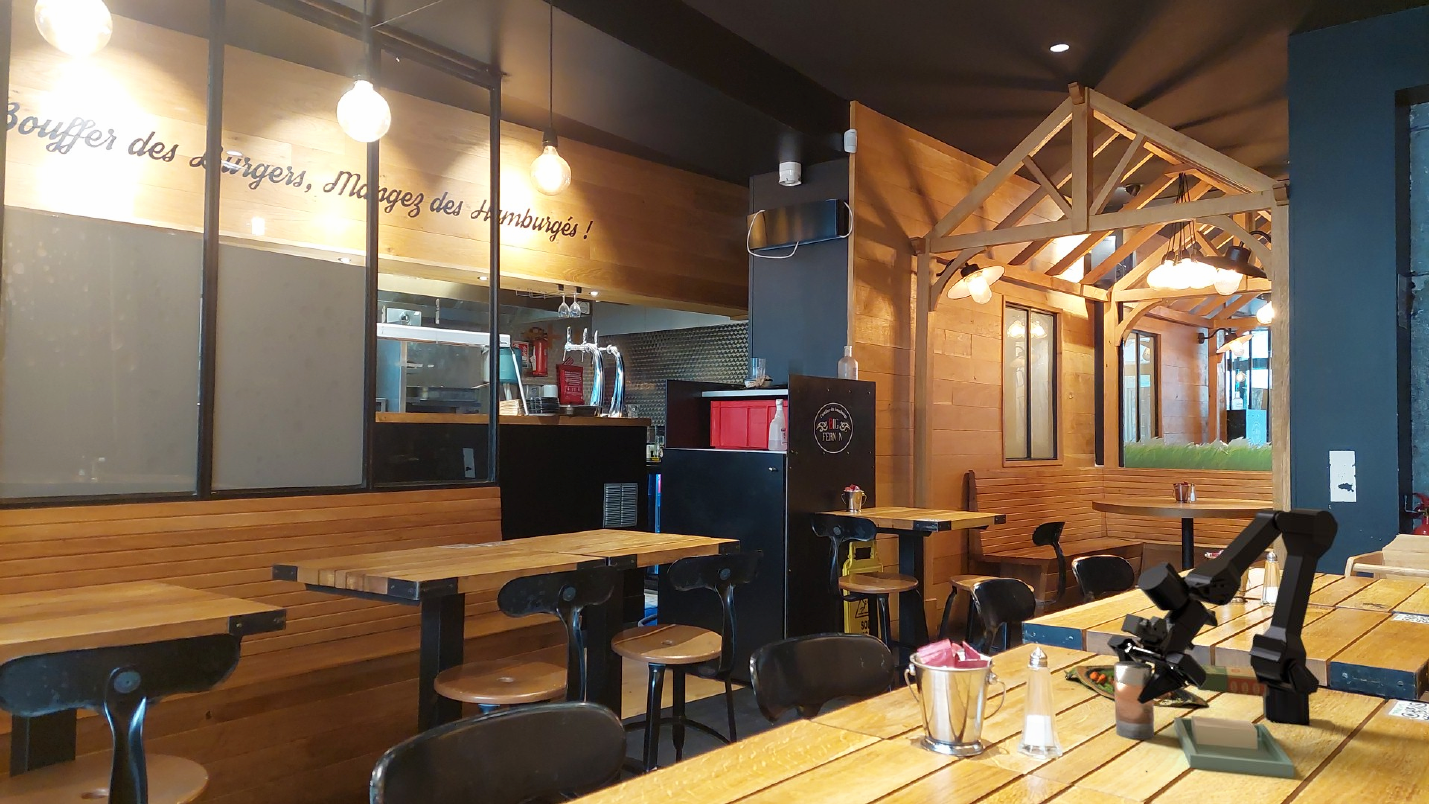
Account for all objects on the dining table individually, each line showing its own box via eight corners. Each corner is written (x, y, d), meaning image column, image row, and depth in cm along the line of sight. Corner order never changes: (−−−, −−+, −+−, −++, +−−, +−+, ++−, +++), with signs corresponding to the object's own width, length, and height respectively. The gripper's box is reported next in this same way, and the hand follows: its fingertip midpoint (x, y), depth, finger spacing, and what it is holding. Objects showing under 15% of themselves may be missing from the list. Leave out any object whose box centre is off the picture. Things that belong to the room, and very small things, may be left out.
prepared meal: (1219, 690, 184) (1133, 693, 181) (1220, 709, 184) (1134, 712, 181) (1133, 663, 212) (1057, 665, 209) (1133, 679, 211) (1058, 681, 209)
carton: (1287, 700, 190) (1286, 678, 190) (1197, 691, 197) (1196, 670, 197) (1283, 690, 197) (1283, 669, 197) (1196, 682, 204) (1196, 662, 205)
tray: (1264, 739, 164) (1264, 724, 164) (1294, 782, 143) (1293, 765, 143) (1174, 731, 168) (1174, 717, 168) (1190, 771, 148) (1190, 755, 148)
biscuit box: (1250, 738, 162) (1250, 720, 162) (1257, 749, 156) (1257, 730, 157) (1191, 733, 165) (1191, 715, 165) (1196, 743, 159) (1196, 725, 160)
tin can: (1152, 731, 166) (1150, 662, 167) (1156, 742, 161) (1153, 670, 161) (1115, 728, 169) (1112, 660, 169) (1117, 739, 163) (1114, 667, 163)
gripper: (1114, 589, 176) (1063, 654, 172) (1189, 606, 158) (1135, 679, 154) (1151, 630, 177) (1102, 695, 174) (1230, 651, 159) (1177, 724, 156)
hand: (1127, 697), depth 165 cm, fingers closed on tin can, 6 cm apart
